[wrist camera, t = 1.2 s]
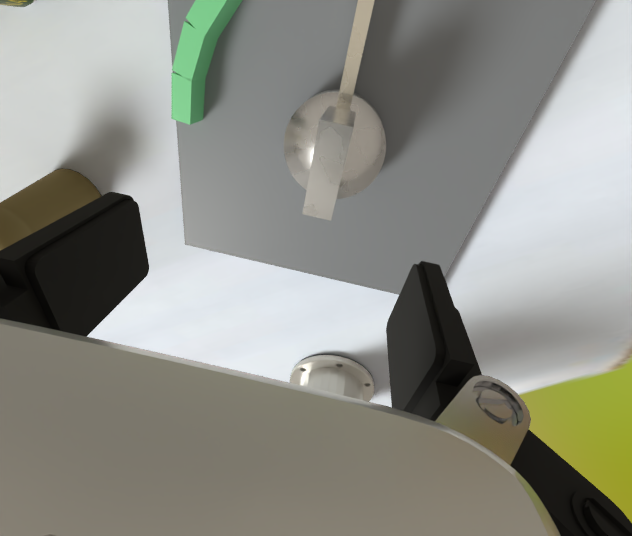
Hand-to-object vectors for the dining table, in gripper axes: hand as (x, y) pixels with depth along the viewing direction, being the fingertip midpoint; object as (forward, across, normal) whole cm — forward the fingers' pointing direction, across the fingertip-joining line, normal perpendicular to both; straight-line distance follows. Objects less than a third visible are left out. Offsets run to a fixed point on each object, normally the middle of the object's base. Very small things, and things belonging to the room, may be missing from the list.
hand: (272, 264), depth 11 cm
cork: (+21, +26, +12) cm, 36 cm away
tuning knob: (+19, -1, -3) cm, 19 cm away
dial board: (+20, -1, 0) cm, 21 cm away
